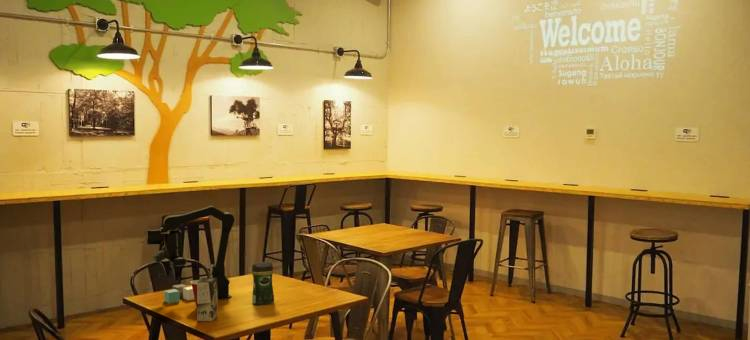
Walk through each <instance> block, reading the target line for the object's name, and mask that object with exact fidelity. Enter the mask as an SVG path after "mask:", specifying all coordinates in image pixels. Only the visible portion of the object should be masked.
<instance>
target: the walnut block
mask: <svg viewBox="0 0 750 340" xmlns="http://www.w3.org/2000/svg"><path fill="white" fill-rule="evenodd" d="M185 287H188V285H186V284H183V283H181V284H175V285H172V290H173V289H176V290H178V291H179V293H180V298H183V288H185Z"/></svg>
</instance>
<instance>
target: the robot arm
mask: <svg viewBox="0 0 750 340" xmlns="http://www.w3.org/2000/svg"><path fill="white" fill-rule="evenodd" d="M209 216H212V217H213V218H215V219H218V220H219V221H220V222H219V224H220V227H219V228H220V235H219V239H218V245H217V251H216V257H215V261H214V264H213V263H211V264H210V270H209V275H210V276H211V277H210V278H217V300H223V299H229V298H232V297H233V296H232V295H230V291H229V290H230V288H229V286H230V282H231V281H230V280H229V278H228V277H227V275H226V267H225V260H226V255H227V254H226V253H227V250H228V245H229V244H228V243H229V238H230V234H231V231H232V229H233V226H234V223H235V216H234V215H233V214H232V213H230V212H228V211H226V212H224V211H222V210H220V209H217V208H216V207H215V206H213V205H208V206H206V207H203V208H201V209H200V208H199V209H197V210H196V209H195V210H193V211H190V212H186V213H184V214H183V213H182V214H171V215H167V216H165V217H164V219H163V224H162V225H161V227H160V228H159V229H147V230H146V231H147V232H146V233H147V235H146V246H157V245H158V246H159V245H161V244H162V243H163V242H164V243H163V244H164V245H162V247H161V250H159V251H156V252H155V253H152V254H151V257H152V260H153V262H154V263H156V264H158V263H159V264H161V265H162V267H163V270H164V274H165V277H169V276H170V274H171V270H172V271H173V279H174V280H175V281H177V280H178V279H179V277H180V275H181V273H182V271H183V269H184V267H186V266H185V265H187V259H186V258H185V257H181V256H180V254H178V253H179V252H178V251H179V249H180V246H179V245H178V244H179V243H178V235H181V234H182V233H183V232H182V231H181V230H180V229H179V227H180V226H182V225H184V224H186V223H189V222H192V221H196V220H199V219H202V218H203V219H204V218H205V217H209ZM163 236H164V237H163Z"/></svg>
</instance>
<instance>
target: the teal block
mask: <svg viewBox="0 0 750 340" xmlns="http://www.w3.org/2000/svg"><path fill="white" fill-rule="evenodd" d="M163 292H164V295H163V296H164V297H163V298H164V302H165V303H167V304H175V302H176V303H180V302H181V299H180V293H179V291H178V290H176V289H173V288H172V289H168V290H164V291H163Z"/></svg>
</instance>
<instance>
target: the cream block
mask: <svg viewBox="0 0 750 340" xmlns="http://www.w3.org/2000/svg"><path fill="white" fill-rule="evenodd" d="M182 299H184V300H187V301H192V300H195V299H194V293H193V289H192V285H191V286H187V287H185V288H183V297H182Z"/></svg>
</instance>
